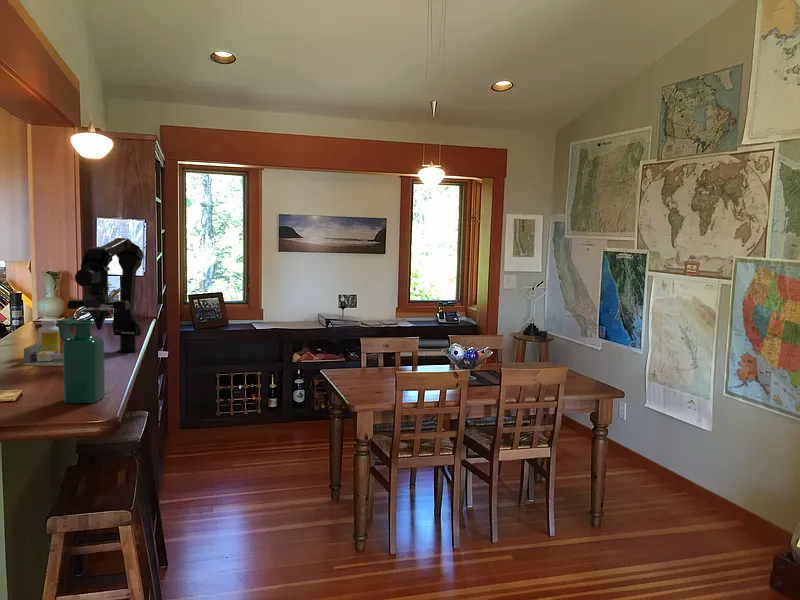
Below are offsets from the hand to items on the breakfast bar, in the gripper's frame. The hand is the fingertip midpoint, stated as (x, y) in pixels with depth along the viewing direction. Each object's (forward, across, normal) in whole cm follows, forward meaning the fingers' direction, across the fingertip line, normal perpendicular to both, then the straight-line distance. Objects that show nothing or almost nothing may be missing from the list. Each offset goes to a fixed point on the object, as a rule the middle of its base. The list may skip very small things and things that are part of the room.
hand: (99, 329), depth 213 cm
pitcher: (+12, +11, -48) cm, 51 cm away
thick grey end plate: (+11, -13, -1) cm, 17 cm away
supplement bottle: (+12, -21, +12) cm, 27 cm away
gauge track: (+12, -16, 0) cm, 19 cm away
